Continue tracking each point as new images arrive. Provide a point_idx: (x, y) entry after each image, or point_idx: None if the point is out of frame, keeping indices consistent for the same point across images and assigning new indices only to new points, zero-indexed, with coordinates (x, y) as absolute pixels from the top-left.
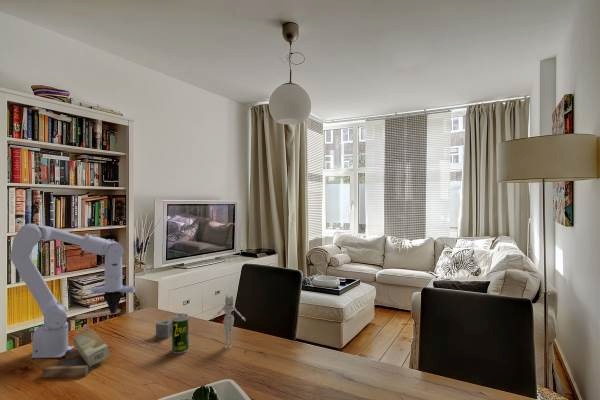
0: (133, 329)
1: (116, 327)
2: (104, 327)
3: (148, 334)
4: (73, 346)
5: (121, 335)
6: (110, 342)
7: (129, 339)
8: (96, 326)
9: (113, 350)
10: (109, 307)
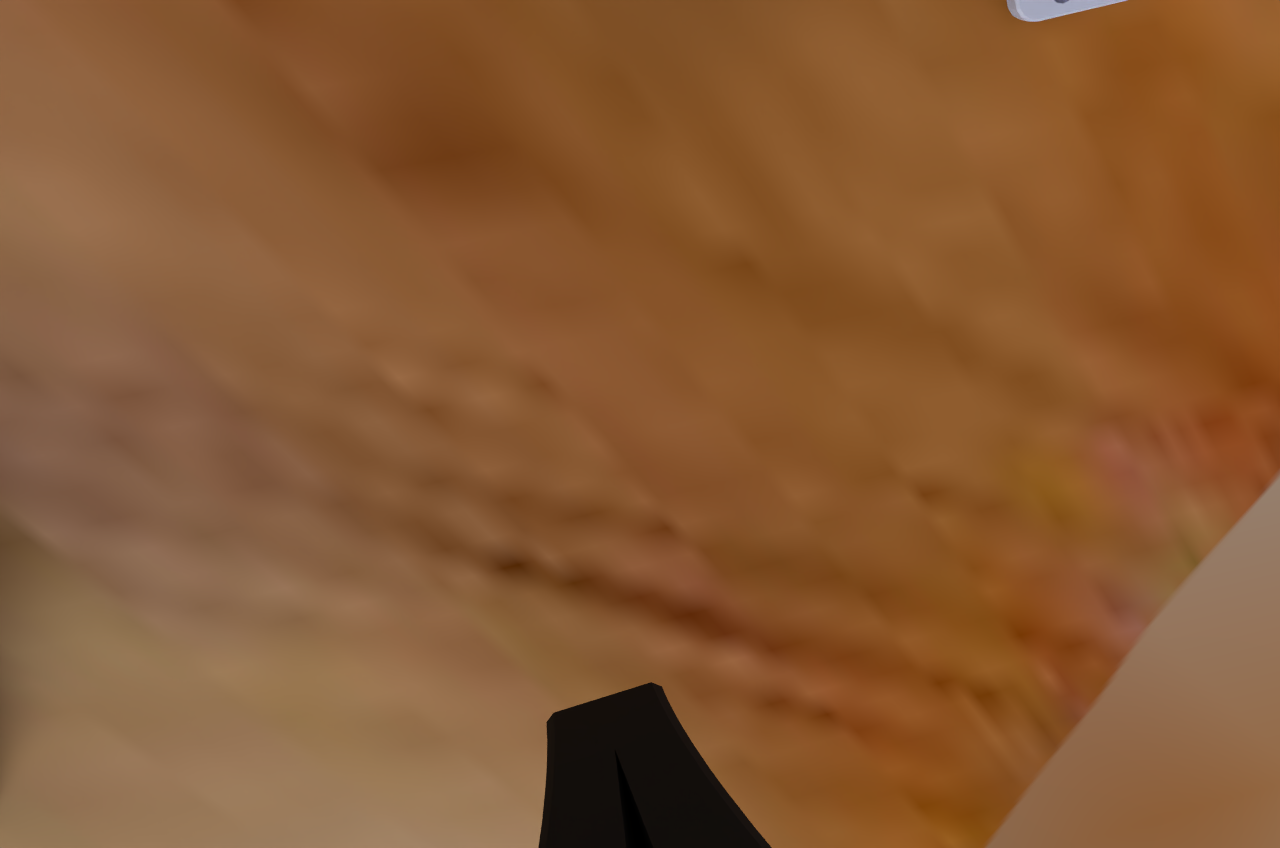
0: (526, 762)
1: (793, 741)
2: (941, 699)
3: (162, 708)
4: (1021, 4)
5: (554, 577)
6: (544, 332)
7: (317, 496)
8: (1050, 692)
9: (225, 33)
10: (721, 819)
